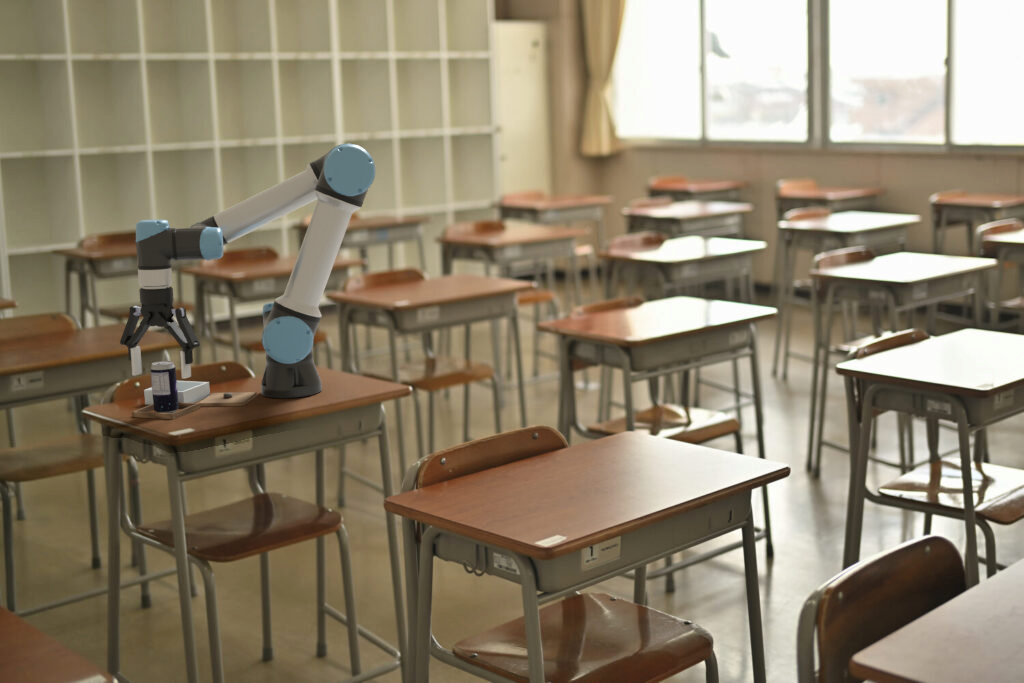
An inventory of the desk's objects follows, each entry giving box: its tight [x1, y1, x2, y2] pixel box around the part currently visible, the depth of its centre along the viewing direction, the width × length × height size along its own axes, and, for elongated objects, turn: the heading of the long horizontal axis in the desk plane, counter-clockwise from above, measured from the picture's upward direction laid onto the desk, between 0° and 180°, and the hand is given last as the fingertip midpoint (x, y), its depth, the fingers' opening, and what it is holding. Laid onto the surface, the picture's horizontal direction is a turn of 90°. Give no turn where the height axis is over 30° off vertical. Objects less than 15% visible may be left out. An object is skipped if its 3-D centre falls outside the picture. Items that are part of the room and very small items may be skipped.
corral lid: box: [198, 391, 257, 407], centre depth 291 cm, size 11×11×2 cm
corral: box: [131, 402, 201, 420], centre depth 281 cm, size 11×11×1 cm
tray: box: [143, 380, 211, 406], centre depth 293 cm, size 11×11×4 cm
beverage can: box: [150, 360, 180, 413], centre depth 280 cm, size 6×6×12 cm
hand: (161, 376), depth 279 cm, fingers open, 13 cm apart
